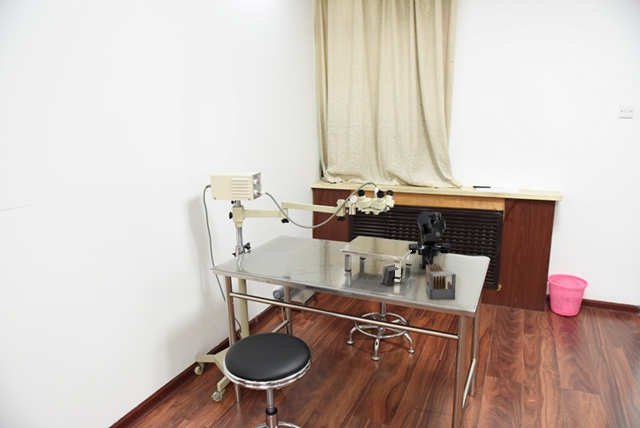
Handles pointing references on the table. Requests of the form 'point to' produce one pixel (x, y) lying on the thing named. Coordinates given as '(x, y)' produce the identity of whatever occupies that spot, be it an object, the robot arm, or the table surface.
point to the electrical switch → (390, 273)
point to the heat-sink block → (438, 281)
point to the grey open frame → (441, 293)
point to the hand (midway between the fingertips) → (431, 265)
